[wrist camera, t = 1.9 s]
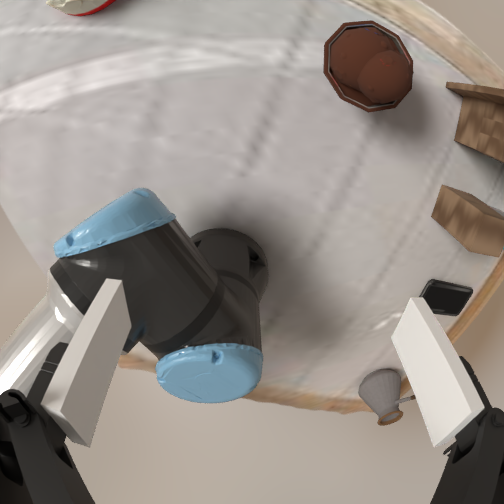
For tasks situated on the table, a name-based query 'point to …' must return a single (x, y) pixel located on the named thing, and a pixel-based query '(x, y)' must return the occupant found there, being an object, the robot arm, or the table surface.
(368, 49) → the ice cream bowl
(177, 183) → the table surface
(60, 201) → the table surface
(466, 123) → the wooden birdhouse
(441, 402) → the robot arm
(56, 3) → the white and red dome
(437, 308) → the phone
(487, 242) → the block
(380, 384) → the coffee pot
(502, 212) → the grey stand
